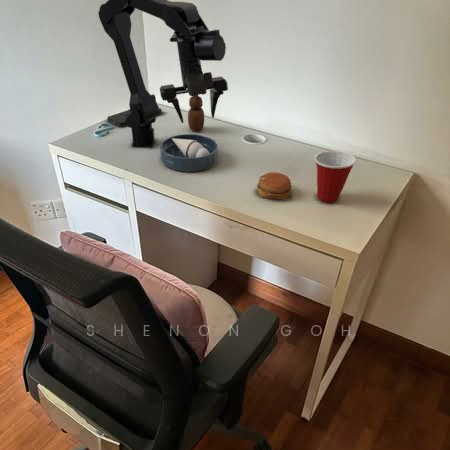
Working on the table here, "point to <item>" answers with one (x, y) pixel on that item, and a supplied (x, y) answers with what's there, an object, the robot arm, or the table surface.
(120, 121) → the smart home device
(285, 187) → the burger
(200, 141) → the bowl
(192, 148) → the ice cream cone
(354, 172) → the table surface
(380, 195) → the table surface
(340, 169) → the plastic cup
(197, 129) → the wooden figurine
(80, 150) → the table surface
